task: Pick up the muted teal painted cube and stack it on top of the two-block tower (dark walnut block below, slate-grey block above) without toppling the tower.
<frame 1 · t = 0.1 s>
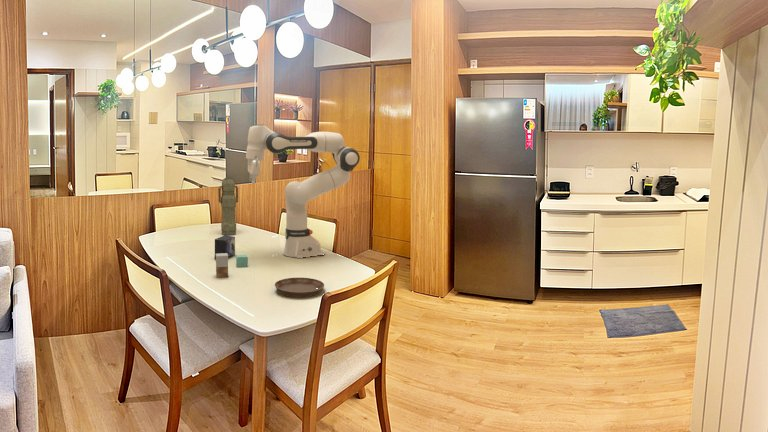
hand: (252, 182, 265), 39 cm above the table, tool pointing down, fingers open, 8 cm apart
walnut base block: (222, 276, 234), on the table, touching grey mid block
grey mid block: (222, 265, 234), point 5 cm above the table, touching walnut base block
small box: (225, 257, 267), on the table
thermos: (228, 234, 322), on the table
teal cube: (241, 265, 253), on the table
plant saucer: (299, 292, 218), on the table
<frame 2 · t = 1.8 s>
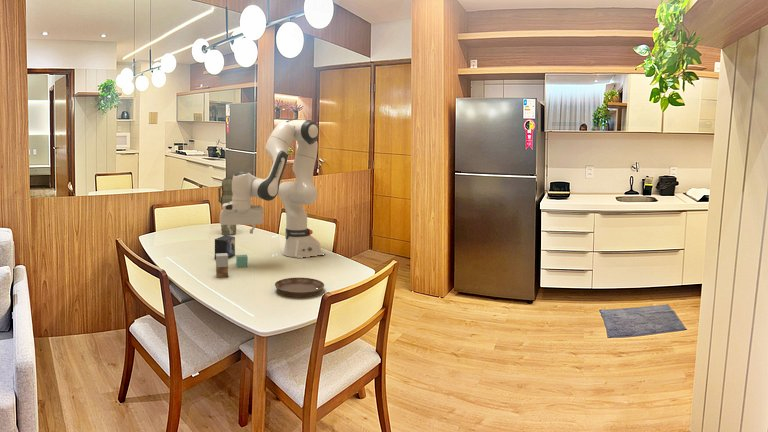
hand: (241, 233, 250), 16 cm above the table, tool pointing down, fingers open, 8 cm apart
nothing on the table moved.
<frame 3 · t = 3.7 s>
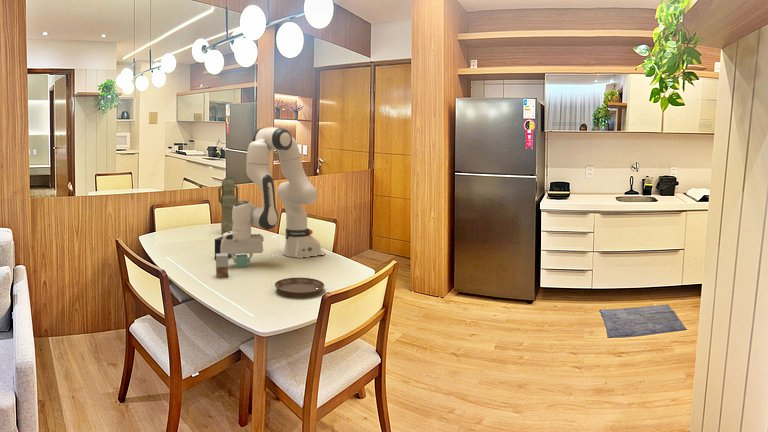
hand: (241, 262, 252), 2 cm above the table, tool pointing down, fingers closed on teal cube, 5 cm apart
teal cube: (241, 265, 253), on the table, touching gripper
everything else where it was.
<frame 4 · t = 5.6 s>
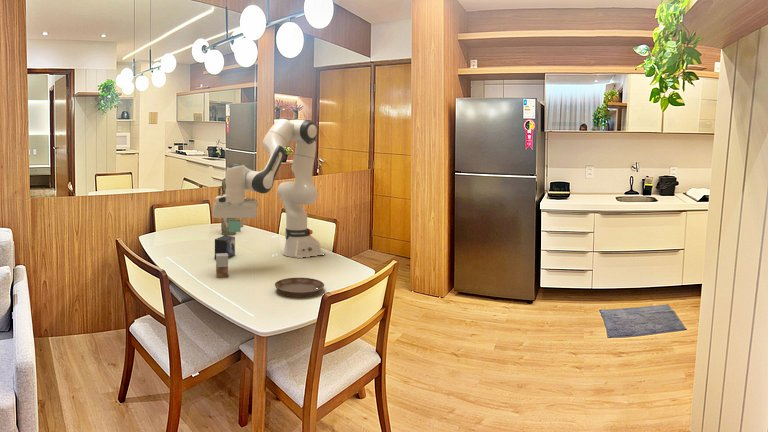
hand: (234, 227, 243), 20 cm above the table, tool pointing down, fingers closed on teal cube, 5 cm apart
teal cube: (234, 230, 244), point 18 cm above the table, touching gripper
everything else where it was.
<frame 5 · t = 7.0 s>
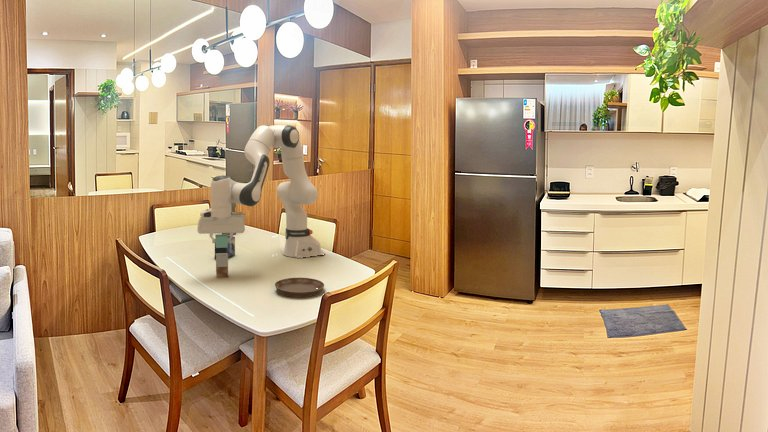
hand: (221, 242, 232), 15 cm above the table, tool pointing down, fingers closed on teal cube, 5 cm apart
teal cube: (221, 246, 232), point 14 cm above the table, touching gripper
everything else where it was.
when the fingers open (13 cm above the table, at t = 7.9 s): teal cube drops 1 cm, resting on grey mid block.
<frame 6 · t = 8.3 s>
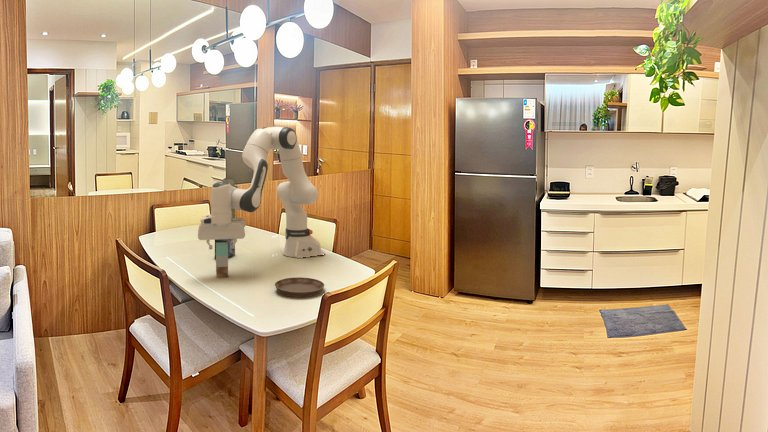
hand: (221, 248, 232), 13 cm above the table, tool pointing down, fingers open, 8 cm apart
grey mid block: (222, 265, 234), point 5 cm above the table, touching teal cube, walnut base block
teal cube: (221, 254, 233), point 10 cm above the table, touching grey mid block
everything else where it was.
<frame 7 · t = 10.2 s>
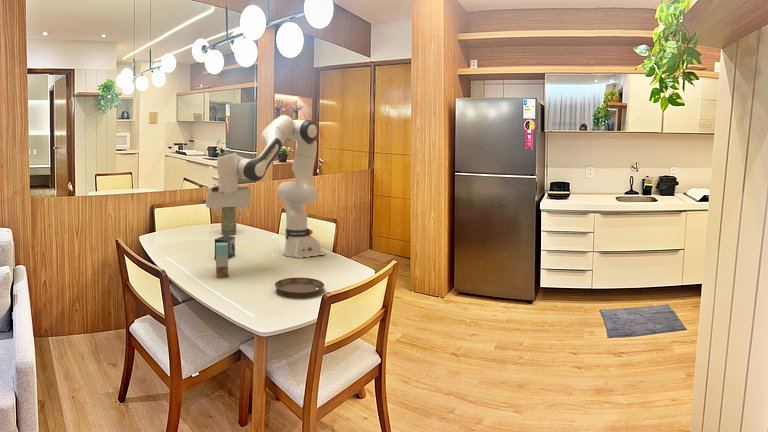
hand: (229, 216, 242), 25 cm above the table, tool pointing down, fingers open, 8 cm apart
nothing on the table moved.
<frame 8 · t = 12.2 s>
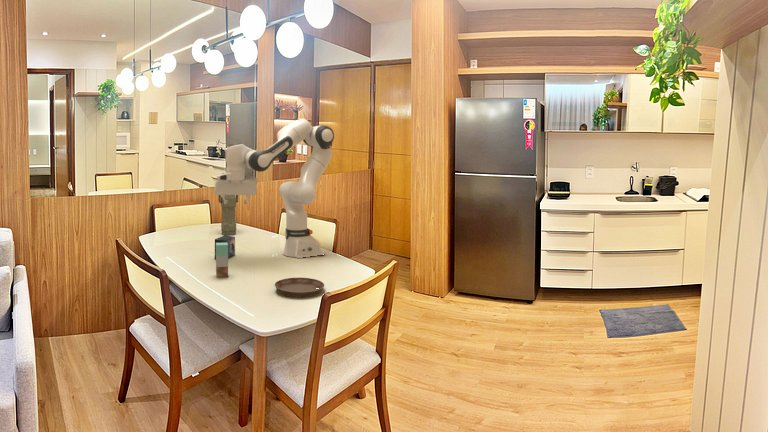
hand: (235, 203, 256), 29 cm above the table, tool pointing down, fingers open, 8 cm apart
nothing on the table moved.
at the end: teal cube 0.0 cm off-centre on the walnut base block, point 10.0 cm above the walnut base block's base; grey mid block 0.0 cm off-centre on the walnut base block, point 5.0 cm above the walnut base block's base; teal cube tilted 0° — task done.
